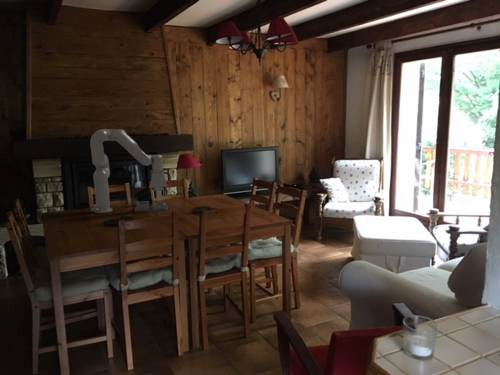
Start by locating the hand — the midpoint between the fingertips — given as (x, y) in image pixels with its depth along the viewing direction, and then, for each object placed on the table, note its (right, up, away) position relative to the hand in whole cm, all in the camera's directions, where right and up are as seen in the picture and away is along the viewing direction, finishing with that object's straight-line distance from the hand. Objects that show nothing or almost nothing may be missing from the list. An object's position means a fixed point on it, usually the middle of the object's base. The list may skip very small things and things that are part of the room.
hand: (159, 195), depth 319 cm
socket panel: (-6, -10, 0) cm, 12 cm away
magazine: (-16, -8, +17) cm, 24 cm away
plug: (0, -3, 0) cm, 3 cm away
